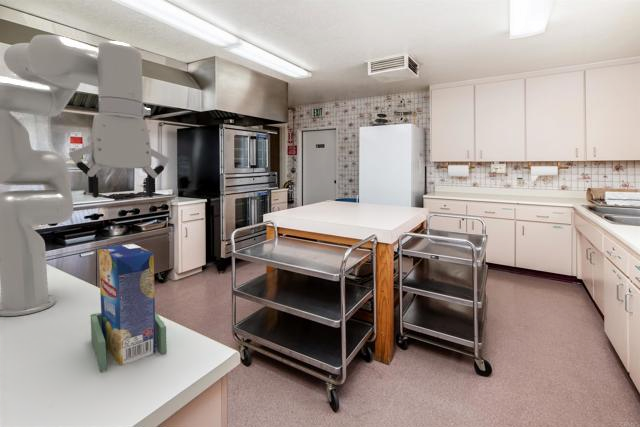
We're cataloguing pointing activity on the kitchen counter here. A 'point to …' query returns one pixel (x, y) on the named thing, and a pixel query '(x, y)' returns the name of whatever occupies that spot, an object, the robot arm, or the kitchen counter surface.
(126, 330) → the beverage box
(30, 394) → the kitchen counter surface
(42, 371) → the kitchen counter surface
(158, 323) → the mount bracket
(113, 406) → the kitchen counter surface
